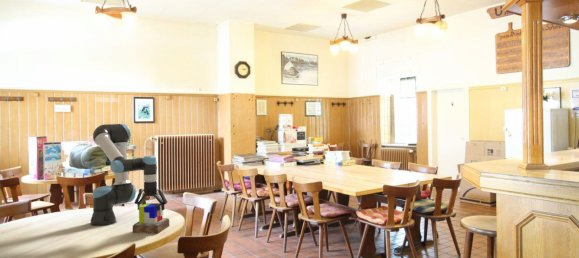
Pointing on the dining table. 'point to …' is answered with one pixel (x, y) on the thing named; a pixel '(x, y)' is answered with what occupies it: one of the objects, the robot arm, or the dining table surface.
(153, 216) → the puzzle toy
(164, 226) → the walnut base
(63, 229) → the dining table surface
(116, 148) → the robot arm
